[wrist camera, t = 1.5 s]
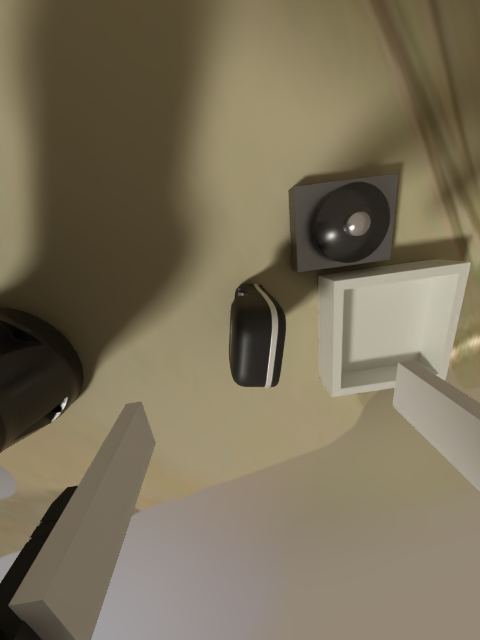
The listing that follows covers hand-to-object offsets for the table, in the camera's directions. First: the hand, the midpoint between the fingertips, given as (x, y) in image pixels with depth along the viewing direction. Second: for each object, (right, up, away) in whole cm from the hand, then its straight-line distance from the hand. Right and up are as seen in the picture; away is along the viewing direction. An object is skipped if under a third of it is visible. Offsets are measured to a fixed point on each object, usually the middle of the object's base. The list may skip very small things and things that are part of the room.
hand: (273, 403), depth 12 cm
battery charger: (-1, +5, +15) cm, 17 cm away
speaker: (+9, +14, +13) cm, 21 cm away
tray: (+15, +4, +17) cm, 23 cm away
